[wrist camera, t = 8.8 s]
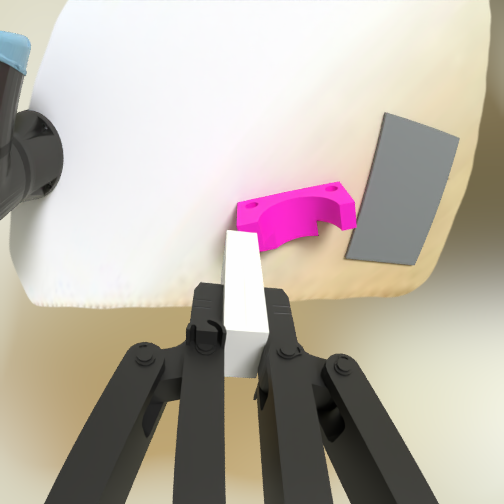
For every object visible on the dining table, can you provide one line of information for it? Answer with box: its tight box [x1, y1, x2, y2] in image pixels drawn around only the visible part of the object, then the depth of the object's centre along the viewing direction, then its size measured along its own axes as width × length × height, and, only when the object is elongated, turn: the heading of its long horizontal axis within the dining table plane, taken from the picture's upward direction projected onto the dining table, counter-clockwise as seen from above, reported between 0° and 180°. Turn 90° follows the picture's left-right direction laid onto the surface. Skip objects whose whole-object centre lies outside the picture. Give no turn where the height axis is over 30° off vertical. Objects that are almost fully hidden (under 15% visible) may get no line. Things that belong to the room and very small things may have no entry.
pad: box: [345, 113, 460, 265], centre depth 45 cm, size 14×24×1 cm, turn 172°
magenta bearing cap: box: [237, 182, 357, 252], centre depth 43 cm, size 15×6×8 cm, turn 103°
